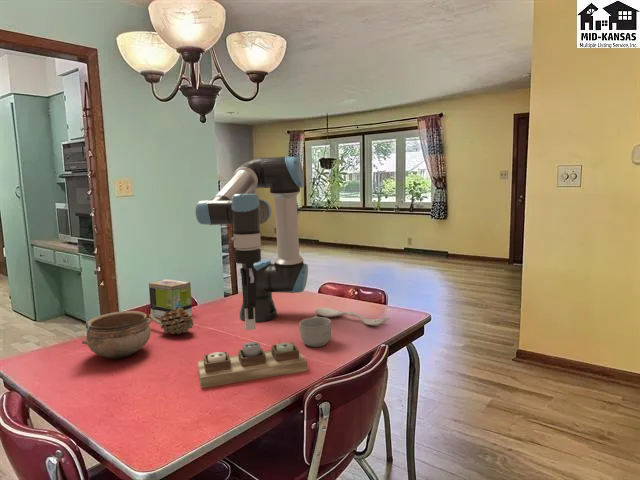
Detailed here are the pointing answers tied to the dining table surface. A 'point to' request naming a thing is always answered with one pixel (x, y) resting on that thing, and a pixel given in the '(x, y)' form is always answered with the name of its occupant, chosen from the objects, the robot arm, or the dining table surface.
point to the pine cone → (175, 321)
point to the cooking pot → (118, 334)
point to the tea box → (169, 296)
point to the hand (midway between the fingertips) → (250, 328)
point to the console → (250, 366)
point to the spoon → (332, 313)
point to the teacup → (315, 331)
